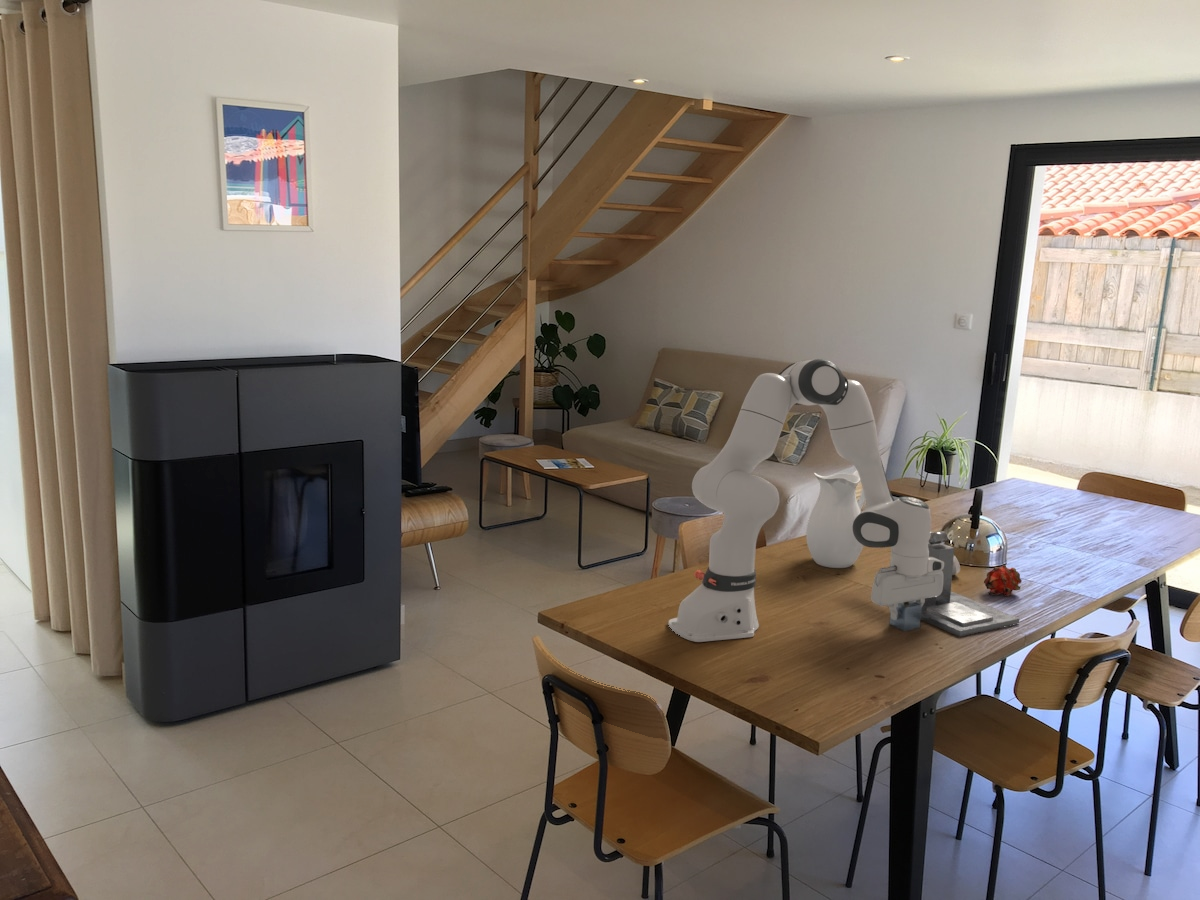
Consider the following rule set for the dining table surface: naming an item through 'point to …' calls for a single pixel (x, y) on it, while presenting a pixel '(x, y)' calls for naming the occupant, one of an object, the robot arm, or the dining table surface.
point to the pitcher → (835, 521)
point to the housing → (907, 616)
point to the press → (959, 604)
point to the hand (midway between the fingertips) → (905, 617)
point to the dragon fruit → (1002, 581)
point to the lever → (938, 537)
